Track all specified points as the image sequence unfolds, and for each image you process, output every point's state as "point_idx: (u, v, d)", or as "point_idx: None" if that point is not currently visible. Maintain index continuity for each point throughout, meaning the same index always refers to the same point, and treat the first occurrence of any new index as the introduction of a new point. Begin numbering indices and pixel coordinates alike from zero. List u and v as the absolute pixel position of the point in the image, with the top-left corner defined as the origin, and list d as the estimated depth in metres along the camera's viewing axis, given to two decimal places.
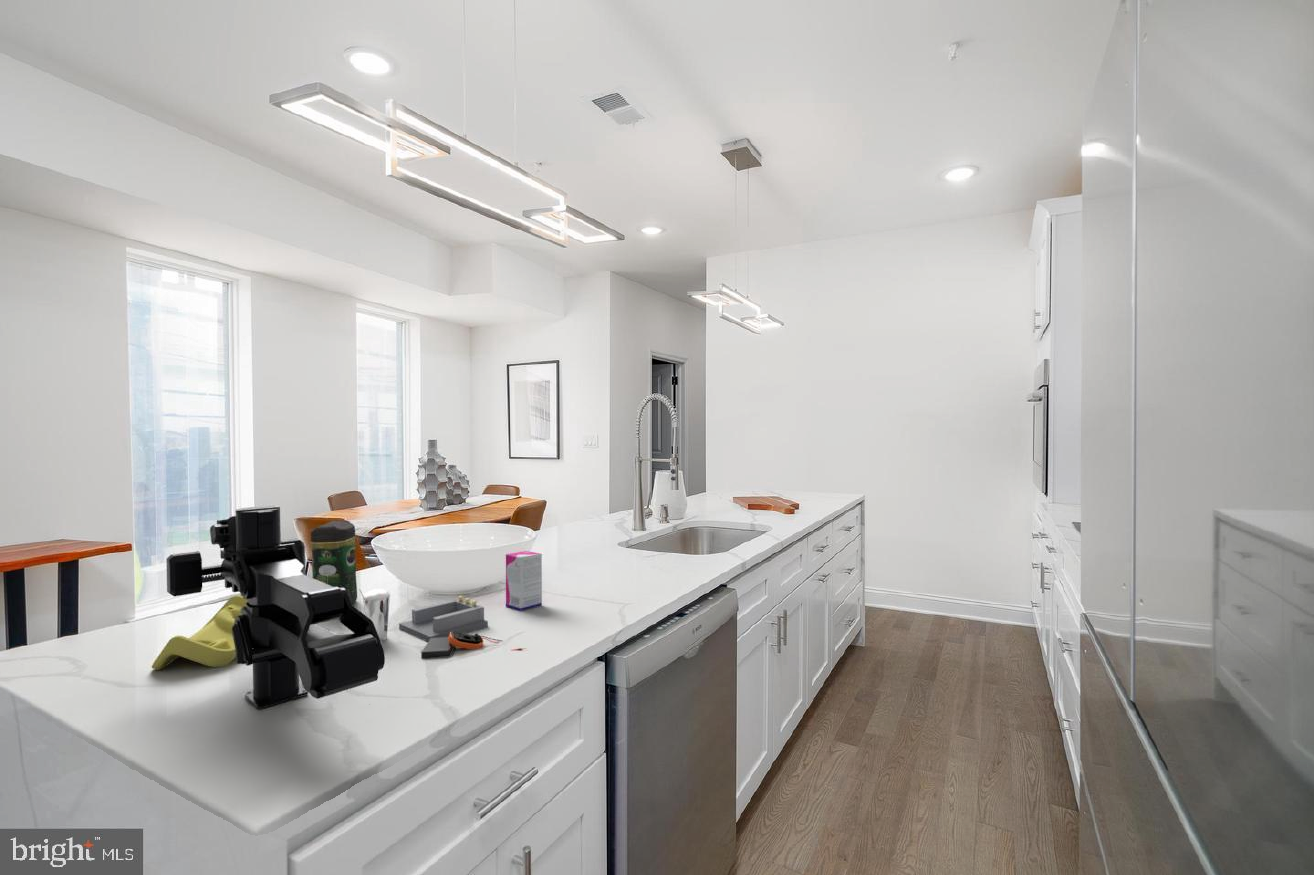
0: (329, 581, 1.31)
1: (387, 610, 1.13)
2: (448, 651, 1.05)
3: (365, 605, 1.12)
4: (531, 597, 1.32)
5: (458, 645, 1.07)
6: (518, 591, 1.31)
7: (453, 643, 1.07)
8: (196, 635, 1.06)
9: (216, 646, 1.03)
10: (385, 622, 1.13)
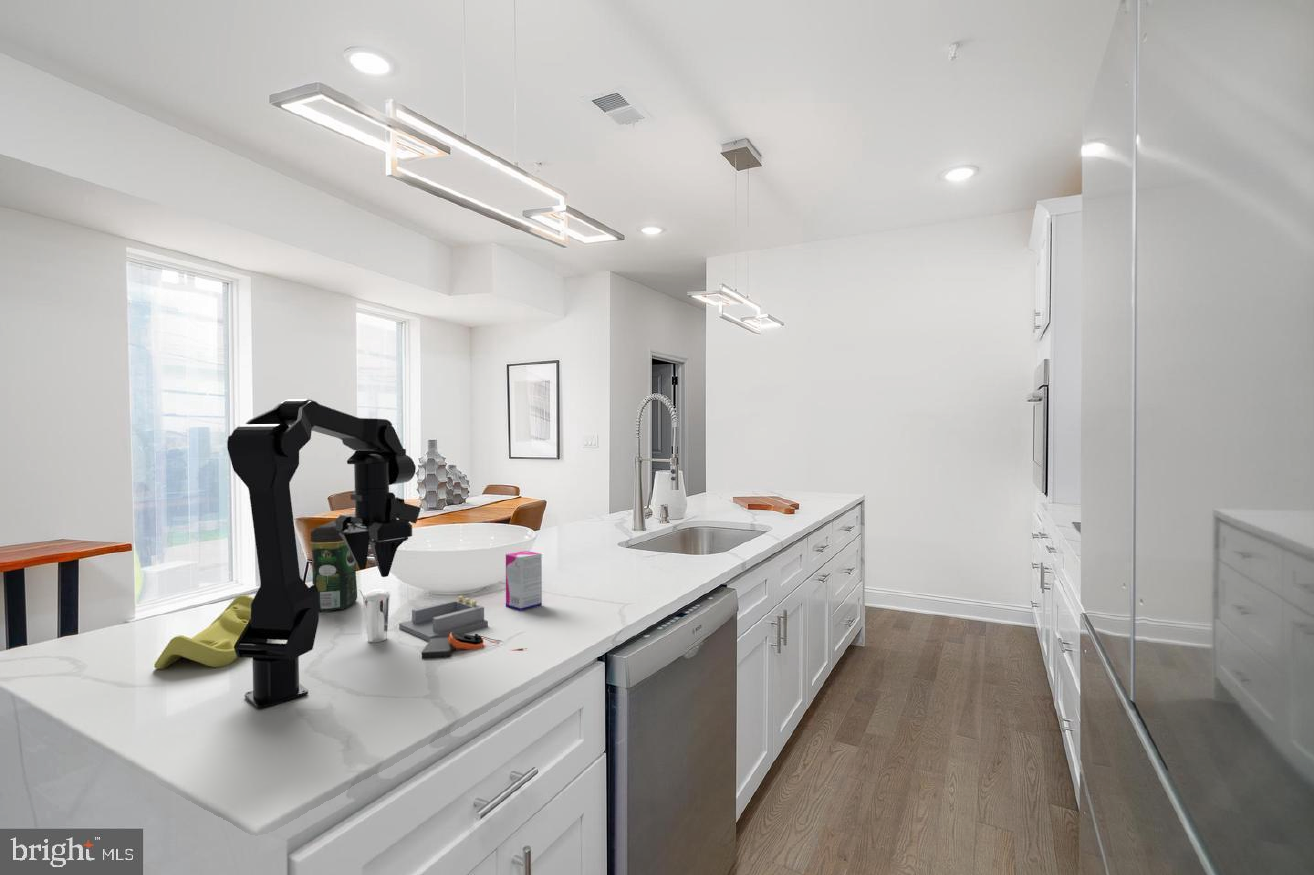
0: (329, 581, 1.31)
1: (387, 610, 1.13)
2: (448, 651, 1.05)
3: (365, 605, 1.12)
4: (531, 597, 1.32)
5: (458, 645, 1.07)
6: (518, 591, 1.31)
7: (453, 644, 1.07)
8: (199, 635, 1.06)
9: (218, 646, 1.03)
10: (385, 622, 1.13)
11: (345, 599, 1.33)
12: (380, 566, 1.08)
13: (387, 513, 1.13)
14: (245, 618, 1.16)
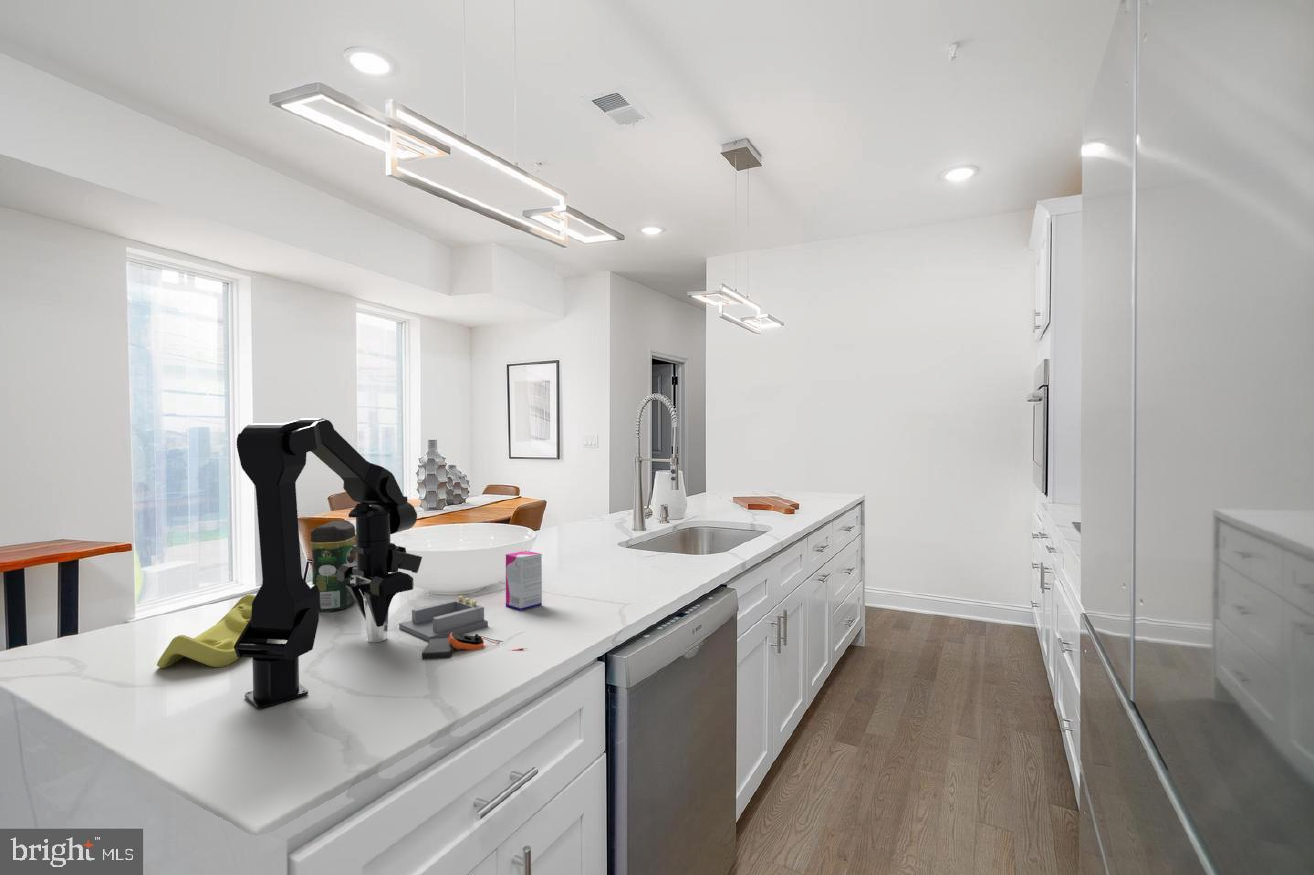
0: (329, 581, 1.31)
1: None
2: (449, 652, 1.04)
3: (365, 605, 1.12)
4: (531, 597, 1.32)
5: (459, 646, 1.07)
6: (518, 591, 1.31)
7: (454, 644, 1.07)
8: (203, 634, 1.06)
9: (219, 646, 1.03)
10: (385, 622, 1.13)
11: (345, 599, 1.33)
12: (375, 616, 1.10)
13: (388, 564, 1.13)
14: (250, 618, 1.16)
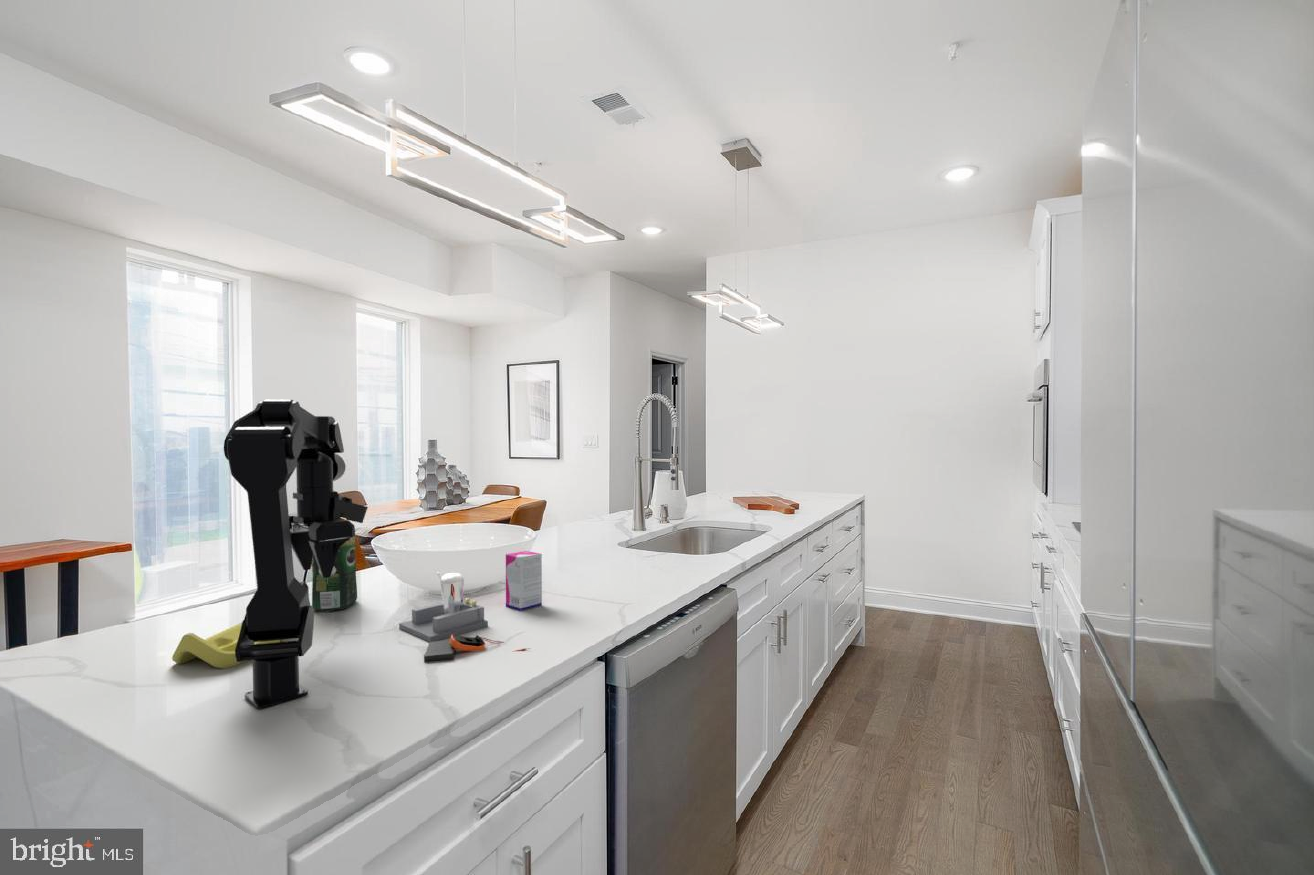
0: (329, 581, 1.31)
1: (462, 592, 1.22)
2: (452, 654, 1.03)
3: (442, 587, 1.20)
4: (531, 597, 1.32)
5: (461, 648, 1.06)
6: (518, 591, 1.31)
7: (456, 646, 1.06)
8: (222, 632, 1.07)
9: (228, 646, 1.03)
10: (460, 603, 1.21)
11: (345, 599, 1.33)
12: (321, 567, 1.06)
13: (330, 512, 1.10)
14: None
